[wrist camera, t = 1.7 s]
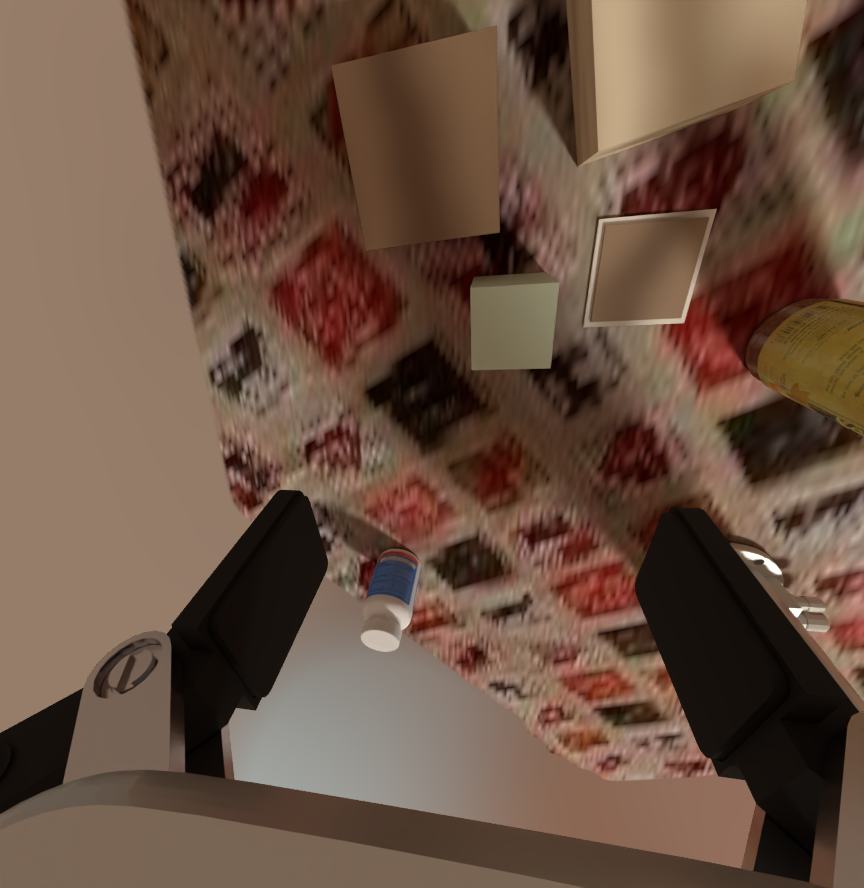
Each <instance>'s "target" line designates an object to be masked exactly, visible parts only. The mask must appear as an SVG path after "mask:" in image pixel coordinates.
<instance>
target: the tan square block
mask: <svg viewBox="0 0 864 888" xmlns="http://www.w3.org/2000/svg"><path fill="white" fill-rule="evenodd" d="M331 68H332V73H333V79H334V84H335V89H336V95H337V100H338V105H339V110H340V116H341V121H342V126H343V132H344V137H345V142H346V148H347V153H348V158H349V164H350V169H351V174H352V180H353V185H354V190H355V196H356V201H357V206H358V212H359V217H360V222H361V227H362V233H363V238H364V243H365V249H366V251H367V250H374V249H382V248H389V247H396V246H404V245H411V244H418V243H426V242H433V241H441V240H448V239H455V238H463V237H470V236H477V235H485V234H492V233H500V215H499V150H498V86H497V26H493V27H489V28H485V29H480V30H476V31H472V32H468V33H464V34H460V35H456V36H451V37H447V38H443V39H439V40H435V41H431V42H427V43H422V44H418V45H414V46H410V47H406V48H402V49H397V50H393V51H389V52H385V53H381V54H377V55H373V56H368V57H364V58H360V59H356V60H352V61H348V62H344V63H339V64H335V65H331Z"/></svg>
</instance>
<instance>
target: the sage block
mask: <svg viewBox="0 0 864 888" xmlns="http://www.w3.org/2000/svg"><path fill="white" fill-rule="evenodd" d="M558 292H559V282H558V281H557V280H555V279H554V278H553V277H551V276H550V275H548V274H547V273H546V272H539V273H524V274H509V275H494V276H479V277H474V278H473V281H472V284H471V287H470V305H471V365H472V370H506V369H546V368H551V359H552V349H553V340H554V330H555V321H556V311H557V301H558Z"/></svg>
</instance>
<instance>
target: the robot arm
mask: <svg viewBox="0 0 864 888" xmlns="http://www.w3.org/2000/svg"><path fill="white" fill-rule="evenodd" d="M327 567H328V559H327V555H326V552H325V549H324V546H323V543H322V539H321V536H320V533H319V530H318V527H317V524H316V520H315V517H314V514H313V511H312V508H311V504H310V501H309V499H308V497H307V496H304V495H303V493H302V492H301V491H296V490H279V491H278V492H277V493H276V494H275V495H274V496H273V497H272V499H271V500H270V501H269V502H268V504H267V505H266V506H265V507H264V509H263V510H262V511H261V513H260V514H259V515H258V516H257V518H256V519H255V520H254V521H253V523H252V524H251V525H250V527H249V528H248V529H247V530H246V532H245V533H244V534H243V535H242V536H241V538H240V539H239V540H238V542H237V543H236V544H235V545H234V547H233V548H232V549H231V550H230V552H229V553H228V554H227V556H226V557H225V558H224V559H223V560H222V562H221V563H220V564H219V565H218V567H217V568H216V570H215V571H214V572H213V573H212V574H211V576H210V577H209V578H208V579H207V581H206V582H205V583H204V585H203V586H202V587H201V588H200V589H199V591H198V592H197V593H196V594H195V596H194V597H193V598H192V600H191V601H190V602H189V603H188V605H187V606H186V607H185V608H184V610H183V611H182V612H181V613H180V615H179V616H178V617H177V618H176V620H175V621H174V622H173V624H172V628H171V629H170V631H169V632H168V633H167V634H165V633H163V632H159V631H151V632H144V633H141V634H139V635H135V636H133V637H131V638H129V639H127V640H126V641H124V642H122V643H120V644H119V645H118V646H116V647H115V648H114V649H112V650H111V651H110V652H108V653H107V654H106V655H105V656H104V657H103V658H102V659H101V660H100V661H99V662H98V664H96V666H95V667H94V669H93V670H92V672H91V673H90V674H89V676H88V678H87V680H86V683H85V685H84V688H82V689H80V690H78V691H77V692H75V693H73V694H71V695H69V696H68V697H66V698H64V699H62V700H60V701H58V702H56V703H55V704H53V705H51V706H49V707H47V708H46V709H44V710H42V711H40V712H38V713H36V714H34V715H33V716H31V717H29V718H27V719H25V720H23V721H22V722H20V723H18V724H16V725H14V726H12V727H11V728H9V729H7V730H5V731H3V732H1V733H0V888H864V702H863V700H862V699H861V698H860V696H859V695H858V694H857V693H856V691H855V690H854V689H853V688H852V686H851V685H850V684H849V683H848V681H847V680H846V679H845V678H844V676H843V675H842V674H841V673H840V671H839V670H838V669H837V668H836V666H835V665H834V664H833V663H832V661H831V660H830V659H829V658H828V656H827V655H826V654H825V653H824V651H823V650H822V649H821V648H820V646H819V645H818V644H817V643H816V641H815V640H814V639H813V638H812V636H811V635H810V634H809V633H808V631H817V632H827V631H828V630H829V622H828V620H827V618H826V617H825V615H824V614H822V612H824V611H825V604H824V603H823V601H822V600H821V599H820V598H818V597H808V596H800V597H797V596H793V595H792V594H790V593H789V592H788V591H787V590H786V589H785V587H784V586H783V581H784V577H783V574H782V571H781V569H780V568H779V567H778V565H777V564H776V563H775V562H774V560H772V559H771V558H770V557H769V556H768V555H767V554H766V553H764V552H762V551H761V550H759V549H756V548H754V547H751V546H748V545H743V544H737V543H729V542H728V541H727V539H726V538H725V537H724V536H723V534H722V533H721V532H720V530H719V529H718V528H717V526H716V525H715V524H714V523H713V521H712V520H711V519H710V517H709V516H708V515H707V514H706V512H705V511H704V510H702V509H700V508H681V507H673V508H671V509H670V510H669V512H668V513H663V514H662V516H661V518H660V521H659V523H658V526H657V528H656V531H655V533H654V536H653V539H652V541H651V544H650V546H649V549H648V551H647V554H646V556H645V559H644V561H643V564H642V567H641V569H640V572H639V574H638V577H637V579H636V583H635V591H636V595H637V598H638V600H639V603H640V605H641V608H642V610H643V613H644V615H645V617H646V620H647V622H648V625H649V627H650V630H651V632H652V635H653V637H654V639H655V642H656V644H657V647H658V649H659V652H660V654H661V657H662V659H663V661H664V664H665V666H666V669H667V671H668V674H669V676H670V679H671V681H672V683H673V686H674V688H675V691H676V693H677V696H678V698H679V701H680V703H681V705H682V708H683V710H684V713H685V715H686V718H687V720H688V722H689V725H690V727H691V730H692V732H693V735H694V737H695V740H696V742H697V744H698V746H699V748H700V750H701V752H702V753H703V754H704V755H705V756H706V757H707V758H711V760H712V762H713V765H714V767H715V770H716V772H717V774H718V776H720V777H727V778H735V779H741V780H745V781H746V783H747V785H748V787H749V789H750V791H751V793H752V796H753V798H754V799H755V802H756V807H755V810H754V815H753V819H752V824H751V828H750V832H749V836H748V841H747V845H746V849H745V854H744V858H743V862H742V867H741V869H740V868H734V867H730V866H725V865H720V864H715V863H710V862H704V861H699V860H695V859H688V858H683V857H678V856H672V855H667V854H661V853H655V852H650V851H644V850H639V849H633V848H627V847H621V846H616V845H611V844H605V843H600V842H594V841H589V840H583V839H577V838H571V837H566V836H561V835H555V834H549V833H544V832H538V831H532V830H526V829H521V828H515V827H509V826H504V825H498V824H492V823H487V822H480V821H475V820H469V819H464V818H458V817H452V816H446V815H440V814H434V813H429V812H423V811H418V810H412V809H406V808H400V807H394V806H388V805H383V804H377V803H371V802H365V801H359V800H353V799H347V798H342V797H336V796H329V795H323V794H318V793H311V792H306V791H300V790H294V789H288V788H282V787H276V786H271V785H265V784H259V783H253V782H245V781H239V780H234V771H233V761H232V752H231V742H230V733H229V725H228V722H229V720H230V718H231V716H232V714H233V713H234V710H235V709H236V708H242V709H250V710H256V709H257V707H258V705H259V702H260V700H261V698H262V697H266V696H267V695H268V694H269V692H270V691H271V689H272V687H273V685H274V683H275V681H276V678H277V676H278V674H279V672H280V670H281V668H282V666H283V663H284V661H285V659H286V657H287V655H288V653H289V651H290V648H291V646H292V644H293V642H294V640H295V637H296V635H297V633H298V631H299V629H300V627H301V625H302V623H303V620H304V618H305V616H306V614H307V612H308V610H309V608H310V605H311V603H312V601H313V599H314V597H315V595H316V592H317V590H318V588H319V586H320V584H321V582H322V580H323V577H324V575H325V573H326V571H327Z"/></svg>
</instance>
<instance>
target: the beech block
mask: <svg viewBox="0 0 864 888" xmlns="http://www.w3.org/2000/svg"><path fill="white" fill-rule="evenodd" d="M806 2H807V0H566V6H567V20H568V35H569V50H570V64H571V79H572V94H573V109H574V123H575V138H576V153H577V167H578V166H581V165H584V164H587V163H590V162H592V161H595V160H598V159H601V158H604V157H606V156H609V155H612V154H615V153H618V152H620V151H623V150H626V149H629V148H632V147H634V146H637V145H640V144H643V143H645V142H648V141H651V140H654V139H657V138H659V137H662V136H665V135H668V134H671V133H673V132H676V131H679V130H682V129H685V128H687V127H690V126H693V125H696V124H699V123H701V122H704V121H707V120H710V119H713V118H715V117H718V116H721V115H724V114H726V113H729V112H731V111H733V110H735V109H738V108H740V107H742V106H744V105H746V104H748V103H750V102H752V101H754V100H756V99H758V98H760V97H762V96H764V95H766V94H768V93H770V92H772V91H774V90H776V89H778V88H780V87H782V86H784V85H786V84H788V83H790V82H792V81H794V78H795V71H796V65H797V59H798V52H799V46H800V40H801V33H802V27H803V21H804V14H805V8H806Z"/></svg>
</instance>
